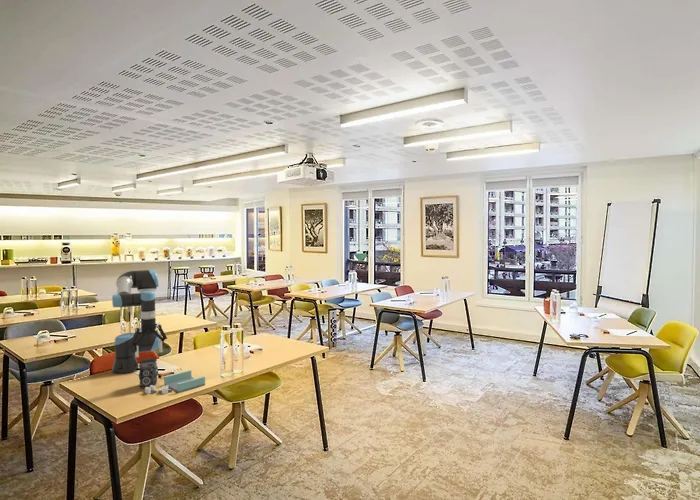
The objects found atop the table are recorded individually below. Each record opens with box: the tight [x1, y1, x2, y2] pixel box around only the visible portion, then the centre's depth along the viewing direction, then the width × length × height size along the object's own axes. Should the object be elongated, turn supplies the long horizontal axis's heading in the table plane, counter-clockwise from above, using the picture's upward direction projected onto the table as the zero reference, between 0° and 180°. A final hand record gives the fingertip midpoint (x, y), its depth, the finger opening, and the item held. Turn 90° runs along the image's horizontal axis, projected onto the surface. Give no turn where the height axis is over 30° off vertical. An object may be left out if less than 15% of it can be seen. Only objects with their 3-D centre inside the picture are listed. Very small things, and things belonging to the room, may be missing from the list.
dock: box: [163, 369, 206, 394], centre depth 247 cm, size 18×16×5 cm
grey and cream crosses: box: [143, 388, 173, 394], centre depth 236 cm, size 16×4×1 cm, turn 87°
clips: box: [144, 385, 170, 395], centre depth 236 cm, size 13×5×3 cm, turn 87°
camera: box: [138, 358, 159, 389], centre depth 245 cm, size 10×10×15 cm
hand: (149, 354), depth 245 cm, fingers open, 13 cm apart
